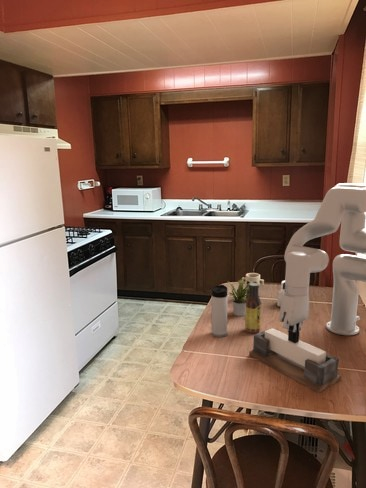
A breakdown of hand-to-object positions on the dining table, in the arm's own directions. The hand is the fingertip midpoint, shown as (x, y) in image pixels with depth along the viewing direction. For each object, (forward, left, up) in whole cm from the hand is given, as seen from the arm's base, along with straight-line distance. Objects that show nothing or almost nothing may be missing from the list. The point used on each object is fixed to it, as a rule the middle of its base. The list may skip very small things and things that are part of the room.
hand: (293, 341), depth 132 cm
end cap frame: (0, 0, -10) cm, 10 cm away
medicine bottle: (-43, -37, -10) cm, 58 cm away
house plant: (-18, -42, -10) cm, 47 cm away
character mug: (-35, -52, -10) cm, 64 cm away
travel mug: (+3, -34, -10) cm, 35 cm away
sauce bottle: (-10, -28, -10) cm, 31 cm away
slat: (0, 0, -6) cm, 6 cm away
